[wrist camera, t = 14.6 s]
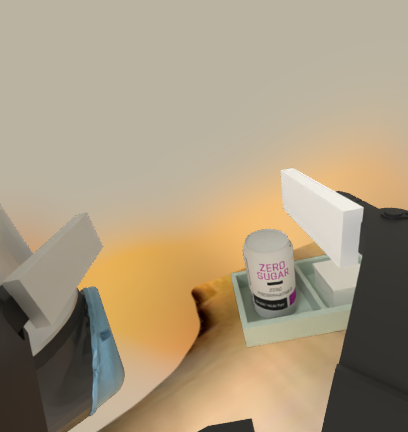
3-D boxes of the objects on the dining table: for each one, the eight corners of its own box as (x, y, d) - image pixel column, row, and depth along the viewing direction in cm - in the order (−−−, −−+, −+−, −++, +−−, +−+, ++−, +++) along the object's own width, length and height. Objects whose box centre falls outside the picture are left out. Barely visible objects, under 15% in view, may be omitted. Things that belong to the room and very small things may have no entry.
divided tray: (246, 347, 38) (242, 329, 36) (233, 289, 51) (230, 273, 49) (411, 318, 37) (415, 297, 35) (355, 265, 49) (356, 248, 48)
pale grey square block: (333, 311, 40) (333, 290, 38) (312, 282, 47) (312, 263, 45) (376, 303, 39) (379, 281, 37) (349, 274, 46) (350, 255, 44)
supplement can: (275, 283, 49) (268, 222, 42) (306, 308, 41) (304, 239, 35) (244, 301, 46) (232, 239, 40) (272, 331, 39) (262, 261, 33)
